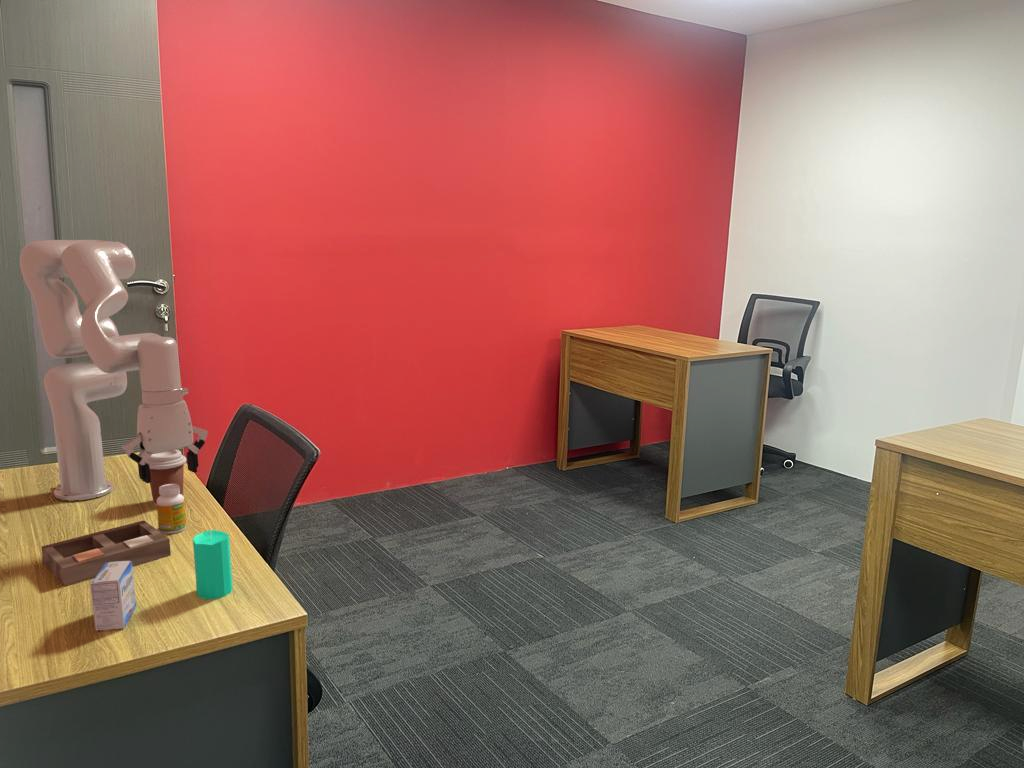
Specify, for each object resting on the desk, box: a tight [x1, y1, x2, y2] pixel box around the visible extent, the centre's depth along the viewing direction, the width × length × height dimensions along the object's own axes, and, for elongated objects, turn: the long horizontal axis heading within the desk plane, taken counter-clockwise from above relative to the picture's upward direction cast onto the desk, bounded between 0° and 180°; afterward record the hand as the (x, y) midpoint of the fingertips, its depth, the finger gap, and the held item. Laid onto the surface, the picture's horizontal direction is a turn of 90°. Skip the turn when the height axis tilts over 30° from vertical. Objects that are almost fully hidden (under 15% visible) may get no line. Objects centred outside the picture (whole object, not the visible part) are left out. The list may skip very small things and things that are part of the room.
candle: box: [192, 528, 234, 600], centre depth 137 cm, size 6×6×12 cm
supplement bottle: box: [156, 484, 187, 535], centre depth 163 cm, size 5×5×10 cm
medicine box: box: [89, 561, 137, 632], centre depth 127 cm, size 8×4×9 cm, turn 12°
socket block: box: [41, 520, 172, 587], centre depth 149 cm, size 13×19×4 cm
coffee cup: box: [147, 449, 187, 507], centre depth 179 cm, size 9×9×12 cm
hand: (170, 476), depth 162 cm, fingers open, 9 cm apart
